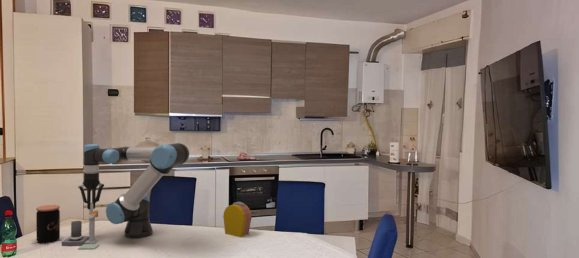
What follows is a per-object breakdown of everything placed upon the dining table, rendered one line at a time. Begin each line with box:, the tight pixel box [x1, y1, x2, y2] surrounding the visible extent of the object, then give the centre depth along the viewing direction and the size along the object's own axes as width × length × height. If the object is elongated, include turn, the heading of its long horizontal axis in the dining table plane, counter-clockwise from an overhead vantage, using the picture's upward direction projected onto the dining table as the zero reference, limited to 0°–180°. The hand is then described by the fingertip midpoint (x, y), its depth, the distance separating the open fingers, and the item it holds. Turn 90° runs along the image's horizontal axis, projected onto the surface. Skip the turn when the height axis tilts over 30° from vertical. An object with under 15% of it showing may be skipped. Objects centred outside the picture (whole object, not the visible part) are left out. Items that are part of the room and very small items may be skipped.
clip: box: [88, 209, 99, 221], centre depth 213 cm, size 14×3×4 cm, turn 17°
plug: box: [69, 220, 83, 241], centre depth 207 cm, size 6×6×11 cm
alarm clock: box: [222, 201, 253, 238], centre depth 228 cm, size 15×8×18 cm, turn 58°
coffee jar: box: [35, 204, 61, 244], centre depth 209 cm, size 11×11×18 cm
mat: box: [77, 243, 100, 250], centre depth 201 cm, size 8×6×1 cm
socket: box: [61, 220, 99, 247], centre depth 207 cm, size 15×10×12 cm, turn 95°
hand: (91, 214), depth 216 cm, fingers closed
